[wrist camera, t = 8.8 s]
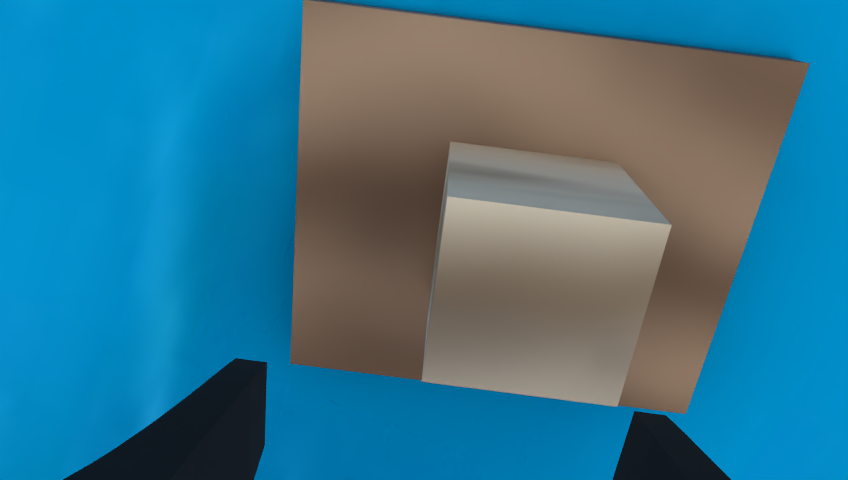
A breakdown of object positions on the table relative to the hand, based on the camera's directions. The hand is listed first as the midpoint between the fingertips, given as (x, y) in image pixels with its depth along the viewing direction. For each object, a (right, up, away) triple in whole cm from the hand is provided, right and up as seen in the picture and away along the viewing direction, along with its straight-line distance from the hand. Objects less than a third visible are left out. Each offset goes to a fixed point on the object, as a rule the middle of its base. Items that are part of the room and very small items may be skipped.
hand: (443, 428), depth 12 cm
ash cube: (+3, +4, +7) cm, 9 cm away
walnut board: (+3, +4, +8) cm, 10 cm away
